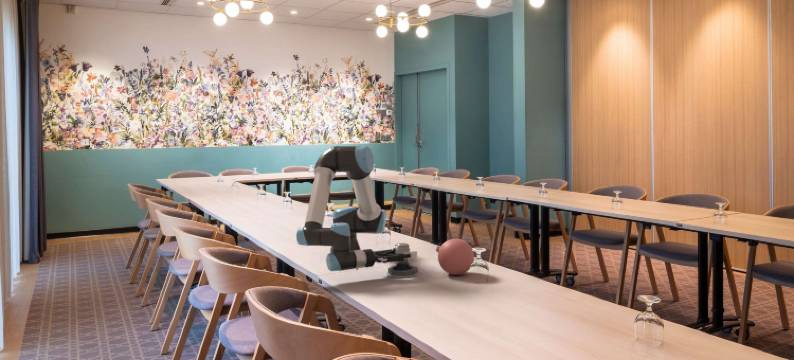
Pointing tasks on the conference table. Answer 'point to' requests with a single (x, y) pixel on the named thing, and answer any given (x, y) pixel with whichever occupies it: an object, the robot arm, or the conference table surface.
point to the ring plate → (402, 272)
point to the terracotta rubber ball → (455, 256)
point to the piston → (404, 264)
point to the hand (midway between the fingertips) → (413, 252)
